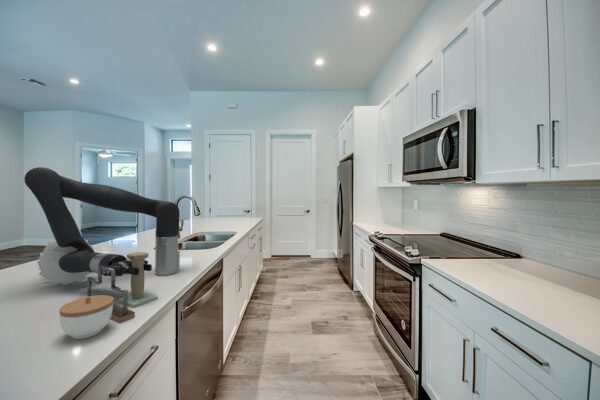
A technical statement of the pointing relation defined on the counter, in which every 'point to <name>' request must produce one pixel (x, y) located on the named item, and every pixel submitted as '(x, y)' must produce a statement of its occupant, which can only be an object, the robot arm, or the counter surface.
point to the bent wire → (118, 312)
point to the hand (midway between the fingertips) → (144, 269)
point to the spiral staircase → (57, 264)
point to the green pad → (139, 300)
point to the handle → (137, 280)
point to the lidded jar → (86, 316)
